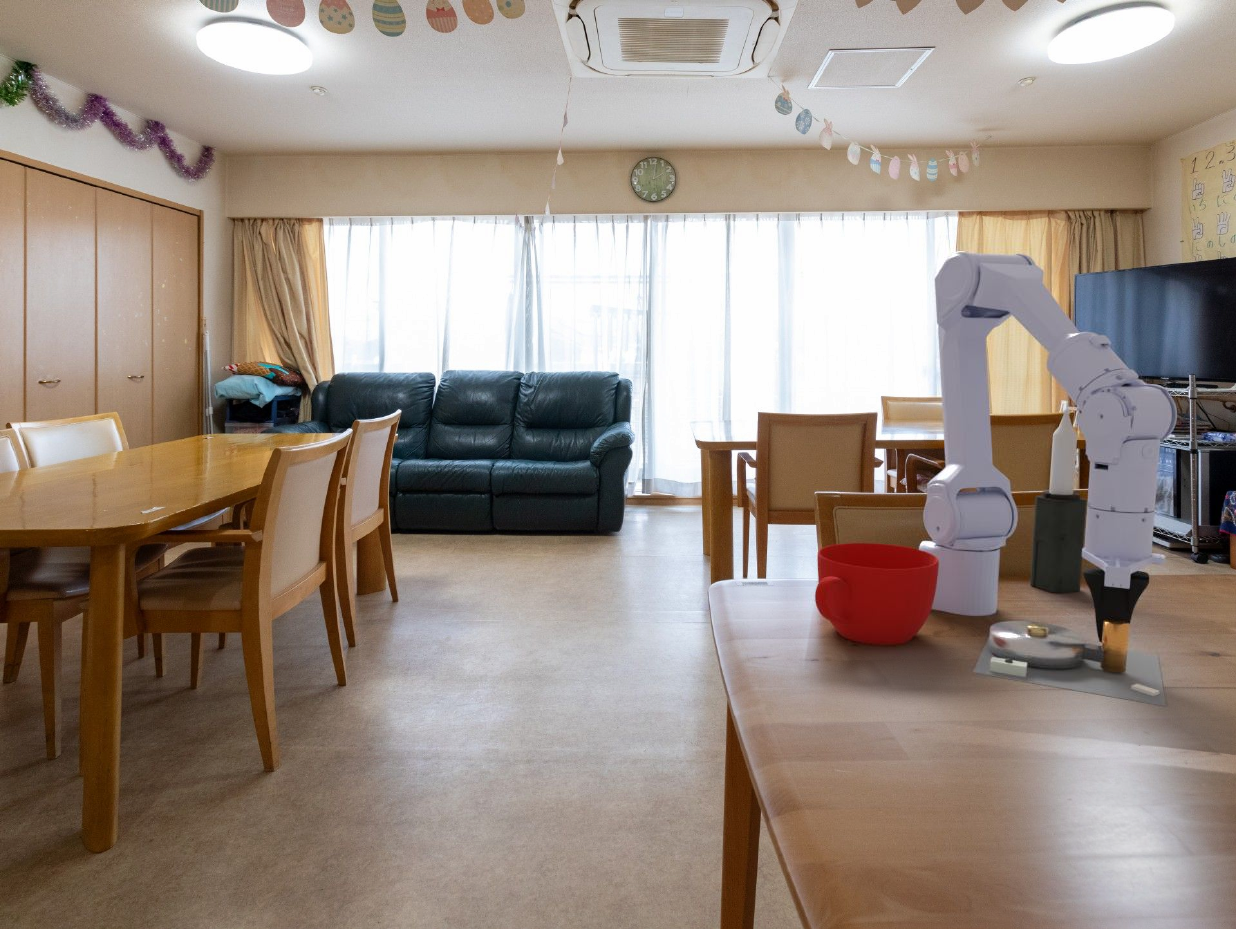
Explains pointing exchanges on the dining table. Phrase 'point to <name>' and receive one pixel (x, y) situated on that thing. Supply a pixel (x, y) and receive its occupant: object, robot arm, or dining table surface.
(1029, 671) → the stand
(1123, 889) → the dining table surface
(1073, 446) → the black and white bottle
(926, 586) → the ceramic cup
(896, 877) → the dining table surface
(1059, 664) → the crank wheel
